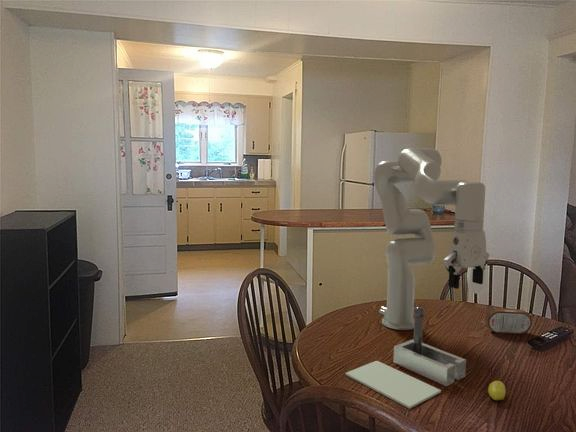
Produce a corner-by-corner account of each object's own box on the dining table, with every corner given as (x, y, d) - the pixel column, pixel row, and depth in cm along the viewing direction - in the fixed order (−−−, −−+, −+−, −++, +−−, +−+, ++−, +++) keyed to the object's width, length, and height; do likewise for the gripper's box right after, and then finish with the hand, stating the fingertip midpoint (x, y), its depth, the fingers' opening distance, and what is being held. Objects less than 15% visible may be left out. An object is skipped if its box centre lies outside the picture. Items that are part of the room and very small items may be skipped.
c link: (393, 362, 140) (393, 346, 139) (412, 354, 145) (412, 339, 144) (446, 386, 125) (447, 368, 125) (465, 376, 131) (466, 359, 130)
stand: (405, 363, 139) (408, 306, 136) (415, 359, 141) (417, 303, 139) (418, 369, 135) (421, 310, 133) (427, 364, 138) (430, 307, 136)
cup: (484, 314, 182) (487, 262, 179) (485, 320, 175) (489, 266, 172) (464, 312, 184) (467, 260, 181) (464, 318, 177) (468, 264, 174)
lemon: (507, 393, 123) (508, 378, 122) (503, 406, 116) (504, 392, 115) (490, 388, 125) (491, 374, 124) (484, 402, 118) (486, 387, 117)
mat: (345, 374, 132) (345, 372, 131) (376, 362, 139) (376, 360, 139) (409, 408, 114) (409, 406, 114) (440, 392, 122) (441, 390, 122)
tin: (528, 332, 164) (530, 308, 163) (532, 335, 161) (534, 312, 160) (484, 330, 166) (485, 307, 164) (486, 333, 163) (488, 310, 161)
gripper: (457, 229, 124) (454, 292, 126) (500, 225, 132) (497, 284, 134) (436, 226, 130) (433, 286, 133) (478, 222, 139) (475, 278, 141)
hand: (465, 285), depth 133 cm, fingers open, 9 cm apart
